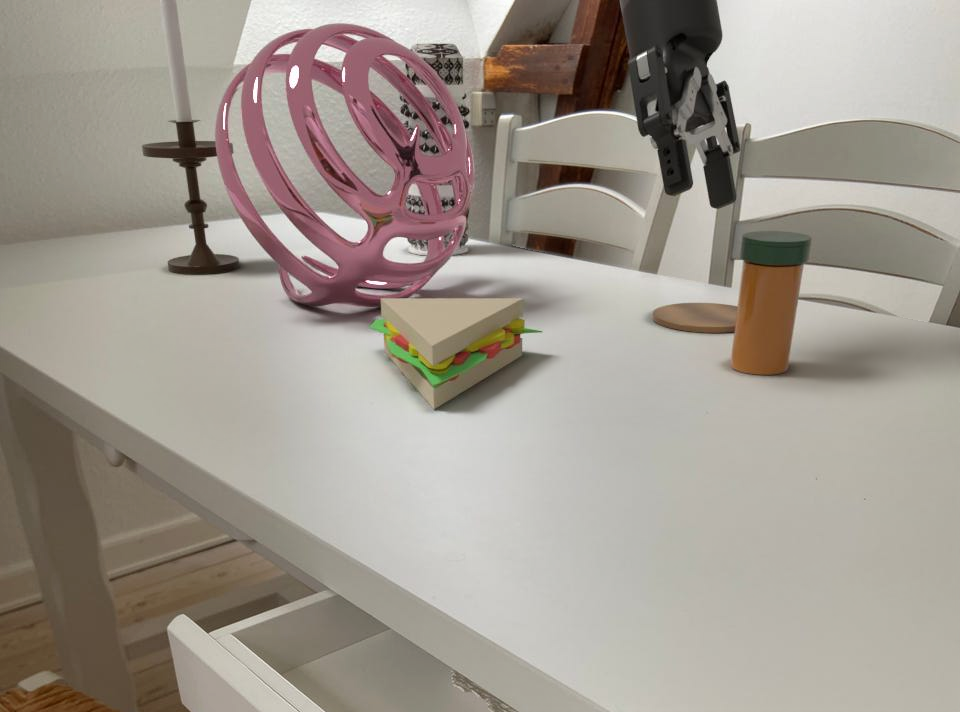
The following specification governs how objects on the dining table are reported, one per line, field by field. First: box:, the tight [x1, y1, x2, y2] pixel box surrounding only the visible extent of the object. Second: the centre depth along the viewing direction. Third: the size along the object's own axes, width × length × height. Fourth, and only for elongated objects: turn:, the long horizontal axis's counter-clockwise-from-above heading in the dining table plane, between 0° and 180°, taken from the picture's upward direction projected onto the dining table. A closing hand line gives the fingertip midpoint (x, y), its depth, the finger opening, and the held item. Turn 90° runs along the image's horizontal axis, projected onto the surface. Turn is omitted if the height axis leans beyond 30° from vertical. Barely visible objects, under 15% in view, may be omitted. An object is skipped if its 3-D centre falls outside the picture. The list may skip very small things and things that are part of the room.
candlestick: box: [141, 0, 241, 275], centre depth 121 cm, size 11×11×35 cm
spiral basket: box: [214, 22, 476, 308], centre depth 108 cm, size 28×28×27 cm
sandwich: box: [369, 297, 543, 410], centre depth 86 cm, size 15×20×5 cm
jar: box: [729, 260, 805, 376], centre depth 87 cm, size 5×5×10 cm
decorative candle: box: [399, 43, 470, 256], centre depth 134 cm, size 9×9×25 cm
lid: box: [739, 230, 813, 265], centre depth 84 cm, size 6×6×2 cm
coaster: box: [651, 302, 738, 334], centre depth 105 cm, size 11×11×1 cm
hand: (703, 199), depth 84 cm, fingers open, 8 cm apart
